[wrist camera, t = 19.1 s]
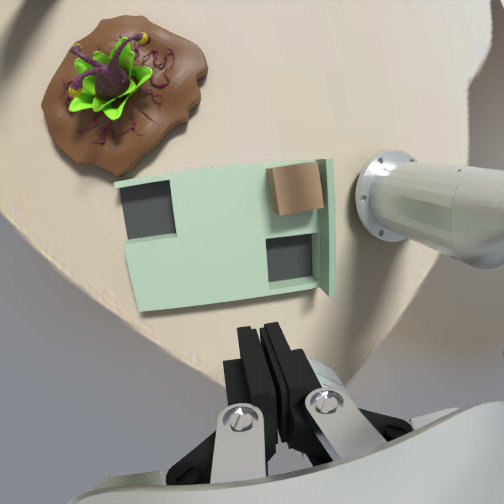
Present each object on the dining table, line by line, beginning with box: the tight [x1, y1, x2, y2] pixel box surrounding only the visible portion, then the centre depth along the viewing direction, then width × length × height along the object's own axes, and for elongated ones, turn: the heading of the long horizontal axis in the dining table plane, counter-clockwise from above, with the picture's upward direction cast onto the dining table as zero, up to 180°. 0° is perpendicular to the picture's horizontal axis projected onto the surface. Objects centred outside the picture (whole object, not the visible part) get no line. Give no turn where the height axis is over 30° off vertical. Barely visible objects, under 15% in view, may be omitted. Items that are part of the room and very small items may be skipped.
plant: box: [41, 15, 208, 177], centre depth 23 cm, size 20×20×11 cm
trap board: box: [114, 159, 336, 312], centre depth 33 cm, size 24×16×6 cm, turn 95°
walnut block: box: [266, 162, 324, 216], centre depth 31 cm, size 5×5×3 cm
